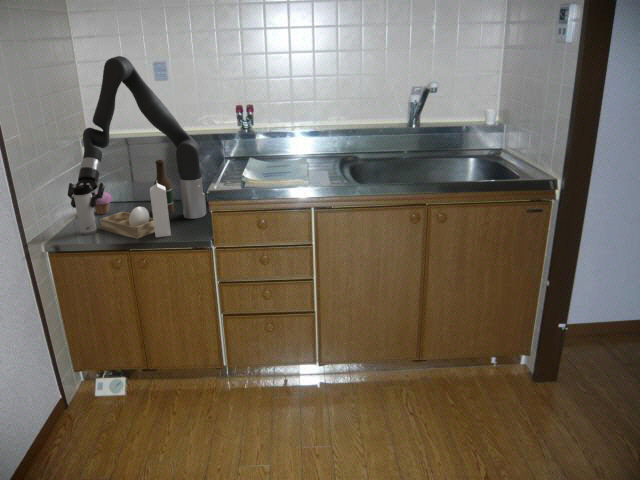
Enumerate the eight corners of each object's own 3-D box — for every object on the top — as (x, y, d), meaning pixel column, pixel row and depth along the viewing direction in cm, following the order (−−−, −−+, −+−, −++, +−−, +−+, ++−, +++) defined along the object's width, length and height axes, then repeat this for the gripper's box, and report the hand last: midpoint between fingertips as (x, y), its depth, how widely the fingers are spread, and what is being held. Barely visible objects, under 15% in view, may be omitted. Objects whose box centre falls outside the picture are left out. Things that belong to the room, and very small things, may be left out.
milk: (155, 237, 217) (148, 184, 209) (155, 232, 222) (148, 180, 214) (171, 235, 218) (164, 182, 210) (170, 230, 224) (164, 178, 216)
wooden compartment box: (124, 221, 236) (123, 211, 235) (160, 229, 225) (158, 219, 224) (101, 229, 227) (99, 219, 225) (137, 238, 216) (135, 228, 214)
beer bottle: (178, 211, 248) (172, 159, 240) (165, 216, 242) (158, 163, 234) (166, 208, 252) (160, 157, 244) (153, 213, 246) (146, 161, 238)
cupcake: (95, 210, 251) (91, 189, 247) (114, 209, 252) (111, 188, 249) (91, 216, 243) (87, 195, 239) (111, 215, 244) (108, 193, 241)
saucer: (148, 225, 226) (145, 203, 223) (150, 226, 226) (147, 204, 222) (129, 232, 219) (126, 209, 215) (132, 233, 218) (128, 210, 215)
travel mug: (91, 235, 220) (83, 187, 213) (77, 234, 221) (68, 186, 214) (100, 230, 225) (93, 183, 218) (86, 229, 227) (78, 182, 220)
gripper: (68, 166, 221) (60, 202, 214) (103, 166, 221) (97, 202, 214) (76, 176, 228) (68, 211, 221) (110, 175, 228) (104, 211, 221)
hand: (82, 206), depth 218 cm, fingers open, 7 cm apart
